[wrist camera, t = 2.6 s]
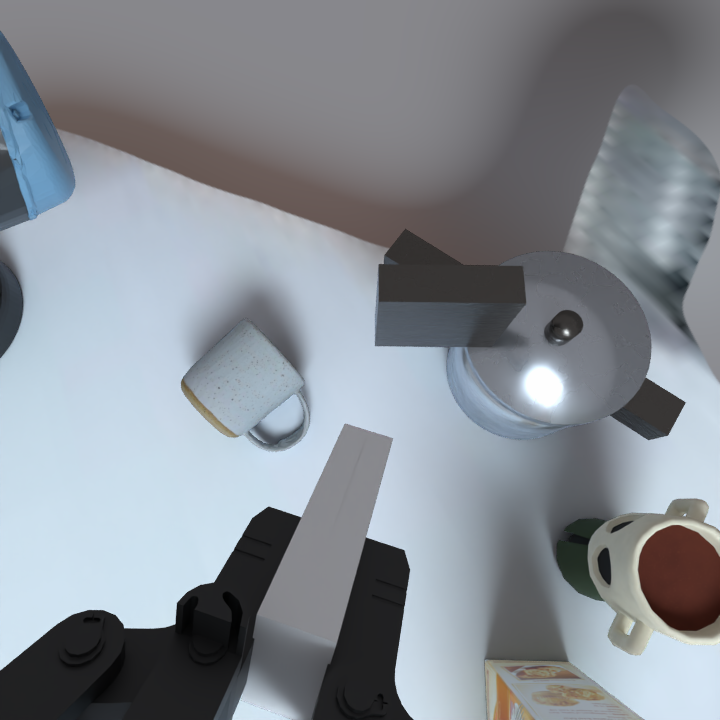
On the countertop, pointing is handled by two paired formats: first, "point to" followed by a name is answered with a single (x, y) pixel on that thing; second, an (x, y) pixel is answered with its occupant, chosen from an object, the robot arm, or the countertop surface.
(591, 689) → the coffeecake box
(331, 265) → the countertop surface
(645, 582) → the character mug
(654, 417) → the pot
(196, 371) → the ceramic mug
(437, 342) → the lid
